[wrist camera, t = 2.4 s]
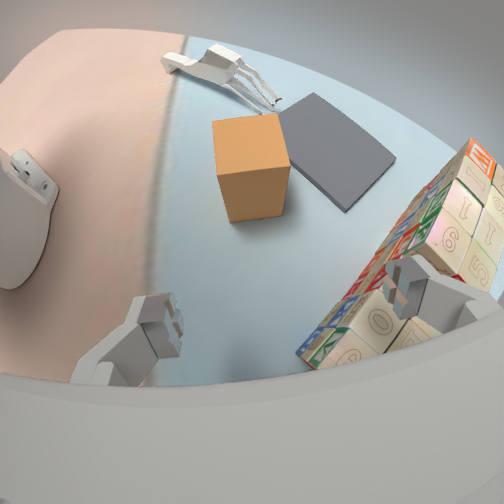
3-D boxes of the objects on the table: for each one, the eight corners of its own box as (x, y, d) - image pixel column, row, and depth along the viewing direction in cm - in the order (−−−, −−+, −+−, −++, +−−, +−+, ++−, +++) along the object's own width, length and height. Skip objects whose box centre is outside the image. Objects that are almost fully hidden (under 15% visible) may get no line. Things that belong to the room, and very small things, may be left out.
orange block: (229, 222, 27) (216, 175, 18) (224, 178, 28) (212, 121, 20) (281, 215, 27) (290, 166, 19) (273, 171, 29) (277, 113, 20)
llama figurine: (257, 132, 37) (167, 61, 34) (289, 92, 26) (172, 10, 23) (249, 140, 37) (158, 68, 33) (279, 100, 26) (160, 16, 22)
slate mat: (254, 134, 30) (254, 130, 29) (312, 96, 31) (313, 92, 31) (344, 212, 27) (346, 209, 26) (394, 161, 29) (396, 157, 28)
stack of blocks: (342, 393, 23) (402, 437, 11) (293, 352, 24) (324, 374, 12) (450, 232, 26) (520, 186, 15) (413, 195, 28) (473, 133, 16)
